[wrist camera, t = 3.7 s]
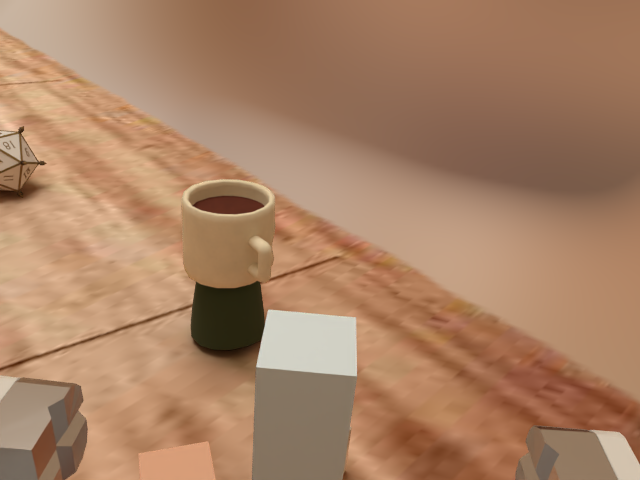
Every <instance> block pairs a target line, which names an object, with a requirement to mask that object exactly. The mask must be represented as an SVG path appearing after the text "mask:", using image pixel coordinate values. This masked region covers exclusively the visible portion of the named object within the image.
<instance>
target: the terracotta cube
mask: <svg viewBox="0 0 640 480" xmlns="http://www.w3.org/2000/svg"><path fill="white" fill-rule="evenodd" d="M139 471H140V480H215V475H214V469H213V464H212V458H211V453H210V447H209V442H202V443H196V444H190V445H185V446H179V447H173V448H167V449H161V450H156V451H150V452H144V453H139Z"/></svg>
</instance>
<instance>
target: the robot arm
mask: <svg viewBox="0 0 640 480" xmlns="http://www.w3.org/2000/svg"><path fill="white" fill-rule="evenodd" d="M82 402H83V395H82V390H81V386H79V385H77V384H74V383H65V382H57V381H48V380H40V379H31V378H17V377H8V376H0V480H65V479H67V478H68V477H70V476H71V475H72V474H74V473H75V472H76V471H77V469H78V467H79V464H80V462H81V460H82V458H83V454H84V451H85V447H86V443H87V430H88V429H87V421H86V418H85V417H84V416H83V415H82V414H81V413H80V412H79V411H78V409H79V408H80V406H81V404H82ZM526 444H527V447H528V450H529V453H527V454H526V455H524V456H523V457H522V458H520V459H519V463H518V466H517V470H516V479H515V480H640V464H639V462H638V461H637V459H636V457H635V455H634V453H633V451H632V450H631V448H630V446H629V444H628V442H627V441H626V439H625V437H624V436H623V435H622V434H620V433H619V432H610V431H598V430H589V431H588V430H582V429H570V428H558V427H546V426H533V427H532V428H531V429H530V430H529V433H528V436H527V438H526Z"/></svg>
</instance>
